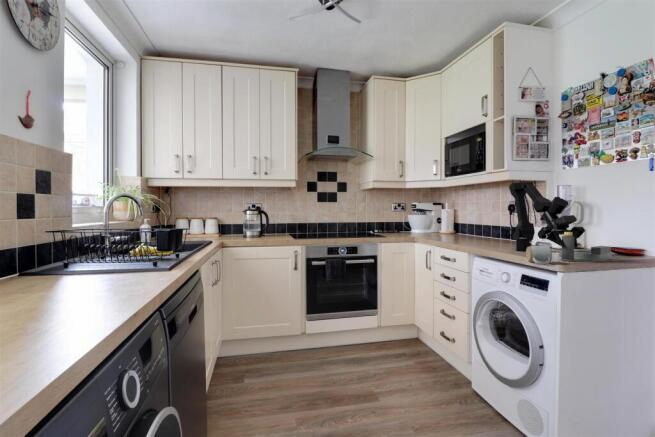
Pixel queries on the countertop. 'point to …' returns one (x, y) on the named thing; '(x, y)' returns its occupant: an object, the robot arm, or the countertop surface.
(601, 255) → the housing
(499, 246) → the countertop surface
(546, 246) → the ceramic mug
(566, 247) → the plug
